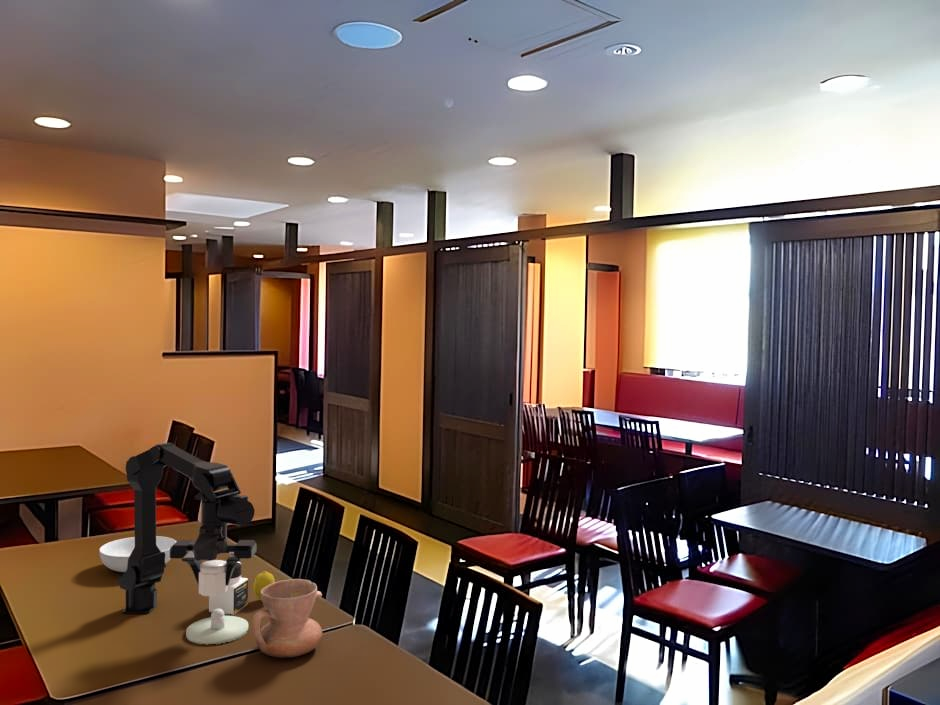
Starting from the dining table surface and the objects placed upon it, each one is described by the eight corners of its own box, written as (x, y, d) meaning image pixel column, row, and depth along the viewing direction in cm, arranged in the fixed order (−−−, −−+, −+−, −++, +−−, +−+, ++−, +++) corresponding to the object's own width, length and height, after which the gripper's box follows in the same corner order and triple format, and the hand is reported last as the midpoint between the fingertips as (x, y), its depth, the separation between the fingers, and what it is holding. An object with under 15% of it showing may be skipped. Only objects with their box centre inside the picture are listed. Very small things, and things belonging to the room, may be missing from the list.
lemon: (279, 598, 192) (279, 569, 192) (267, 606, 187) (267, 575, 187) (261, 595, 194) (262, 566, 194) (249, 603, 189) (249, 573, 189)
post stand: (177, 645, 164) (177, 621, 163) (196, 619, 178) (196, 597, 177) (240, 644, 165) (240, 620, 165) (254, 619, 179) (254, 597, 178)
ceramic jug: (302, 628, 174) (301, 570, 174) (339, 646, 165) (339, 585, 164) (234, 654, 161) (233, 591, 160) (271, 675, 151) (270, 609, 151)
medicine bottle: (234, 615, 181) (234, 568, 180) (208, 612, 182) (208, 565, 182) (248, 604, 188) (248, 559, 187) (223, 602, 189) (223, 557, 189)
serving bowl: (191, 565, 217) (191, 543, 216) (125, 586, 199) (126, 561, 199) (149, 552, 228) (149, 530, 227) (84, 570, 210) (84, 547, 210)
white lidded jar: (196, 596, 167) (196, 568, 166) (204, 586, 173) (204, 559, 172) (222, 596, 167) (223, 568, 167) (229, 586, 173) (230, 560, 173)
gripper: (160, 529, 161) (160, 597, 161) (245, 529, 162) (245, 597, 162) (178, 515, 172) (177, 580, 172) (257, 516, 173) (256, 580, 174)
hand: (213, 584), depth 170 cm, fingers closed on white lidded jar, 6 cm apart
